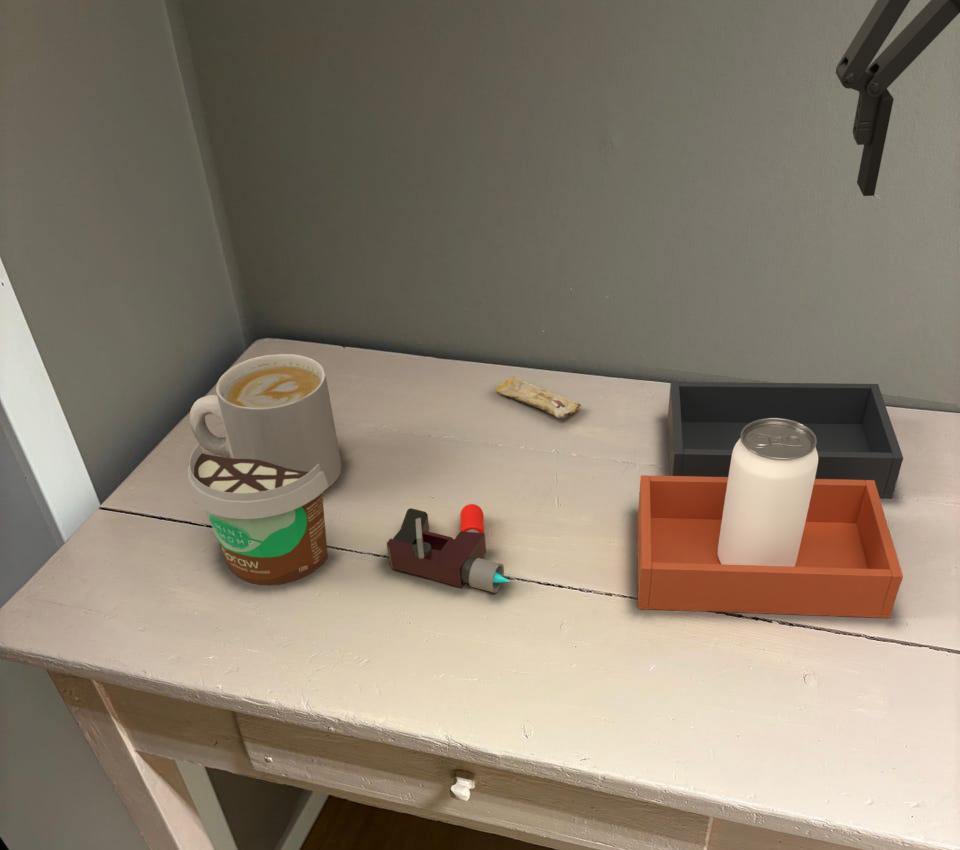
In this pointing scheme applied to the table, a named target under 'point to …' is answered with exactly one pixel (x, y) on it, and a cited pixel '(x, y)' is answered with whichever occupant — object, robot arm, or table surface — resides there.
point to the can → (768, 493)
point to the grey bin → (819, 406)
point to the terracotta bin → (765, 589)
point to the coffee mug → (273, 415)
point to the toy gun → (446, 551)
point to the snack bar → (538, 397)
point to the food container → (262, 515)
